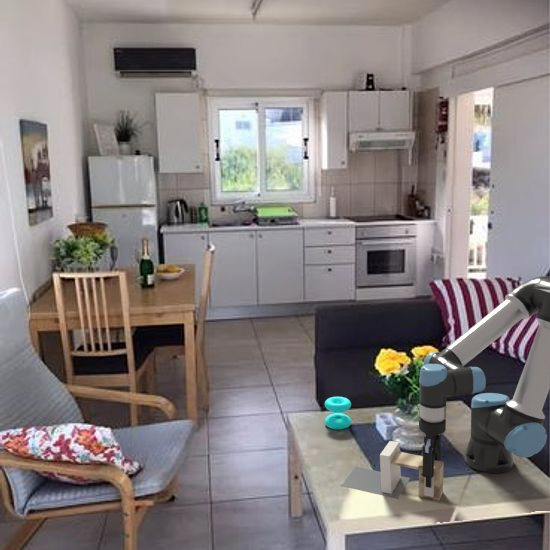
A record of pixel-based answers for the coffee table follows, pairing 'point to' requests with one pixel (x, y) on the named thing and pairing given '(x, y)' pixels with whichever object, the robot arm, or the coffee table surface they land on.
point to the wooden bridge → (417, 463)
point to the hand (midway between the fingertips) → (431, 490)
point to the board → (372, 482)
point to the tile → (389, 467)
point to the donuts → (338, 413)
